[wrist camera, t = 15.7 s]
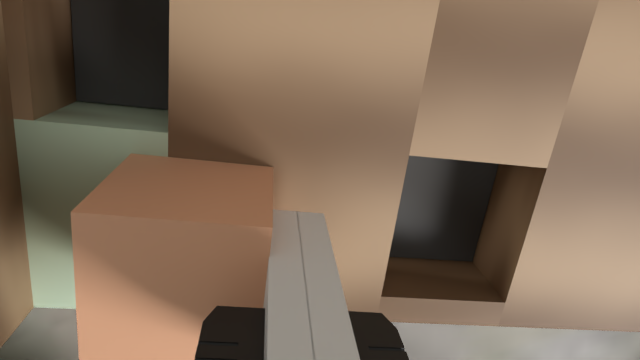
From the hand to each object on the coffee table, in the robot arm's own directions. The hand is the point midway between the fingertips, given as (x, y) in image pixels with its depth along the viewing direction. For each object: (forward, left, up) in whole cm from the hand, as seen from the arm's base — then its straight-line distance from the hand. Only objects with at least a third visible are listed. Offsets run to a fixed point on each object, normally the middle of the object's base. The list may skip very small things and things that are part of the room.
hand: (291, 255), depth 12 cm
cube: (0, +3, -2) cm, 3 cm away
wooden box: (+3, -3, -5) cm, 6 cm away
